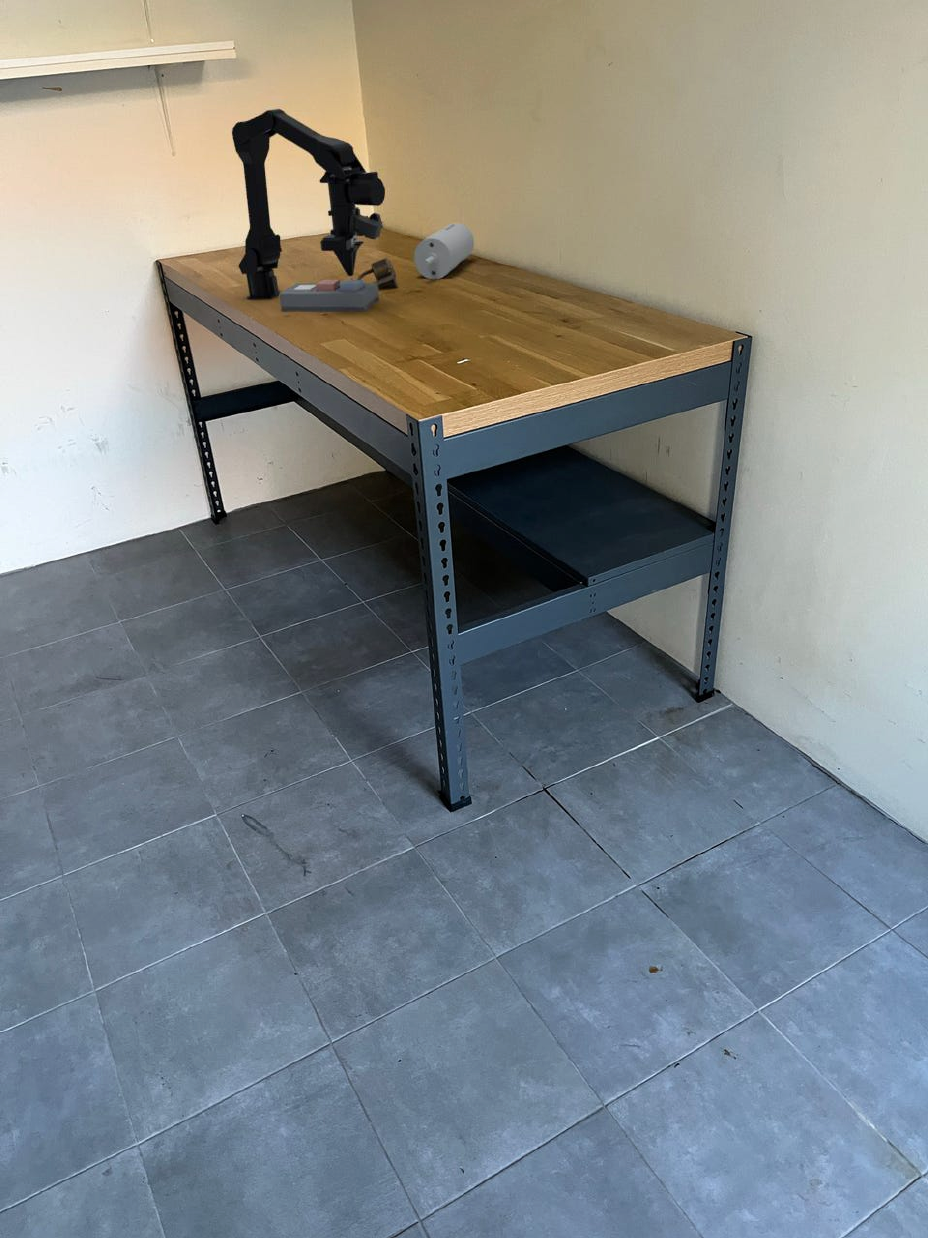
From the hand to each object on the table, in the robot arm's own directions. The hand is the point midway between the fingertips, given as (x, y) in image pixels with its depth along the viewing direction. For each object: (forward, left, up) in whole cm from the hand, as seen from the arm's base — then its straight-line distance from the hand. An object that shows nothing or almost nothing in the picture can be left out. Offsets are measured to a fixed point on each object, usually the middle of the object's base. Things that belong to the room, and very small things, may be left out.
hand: (350, 275), depth 221 cm
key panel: (-6, 0, -7) cm, 9 cm away
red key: (-6, 0, -4) cm, 7 cm away
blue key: (0, 0, -4) cm, 4 cm away
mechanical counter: (-1, +19, -7) cm, 20 cm away
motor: (+13, +39, -7) cm, 42 cm away
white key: (-12, 0, -6) cm, 13 cm away
